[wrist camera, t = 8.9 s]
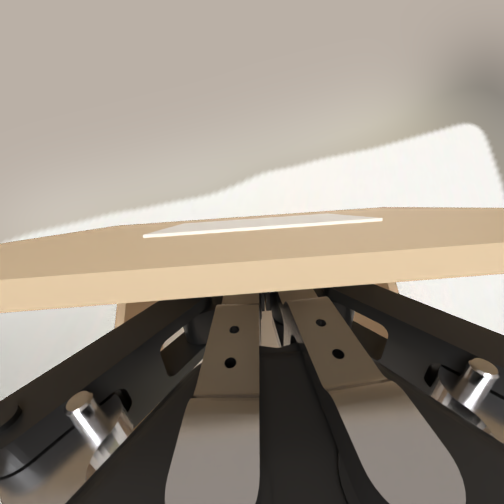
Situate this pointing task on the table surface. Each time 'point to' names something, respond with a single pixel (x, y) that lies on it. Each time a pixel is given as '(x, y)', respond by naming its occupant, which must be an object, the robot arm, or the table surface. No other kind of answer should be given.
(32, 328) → the table surface
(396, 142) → the table surface
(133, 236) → the mailer lid
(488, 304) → the table surface
